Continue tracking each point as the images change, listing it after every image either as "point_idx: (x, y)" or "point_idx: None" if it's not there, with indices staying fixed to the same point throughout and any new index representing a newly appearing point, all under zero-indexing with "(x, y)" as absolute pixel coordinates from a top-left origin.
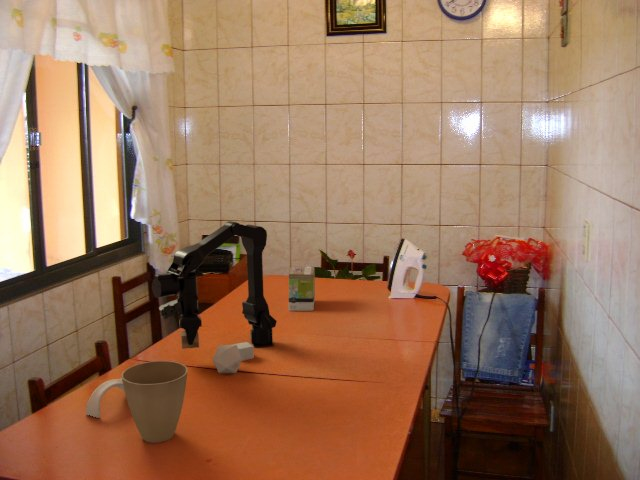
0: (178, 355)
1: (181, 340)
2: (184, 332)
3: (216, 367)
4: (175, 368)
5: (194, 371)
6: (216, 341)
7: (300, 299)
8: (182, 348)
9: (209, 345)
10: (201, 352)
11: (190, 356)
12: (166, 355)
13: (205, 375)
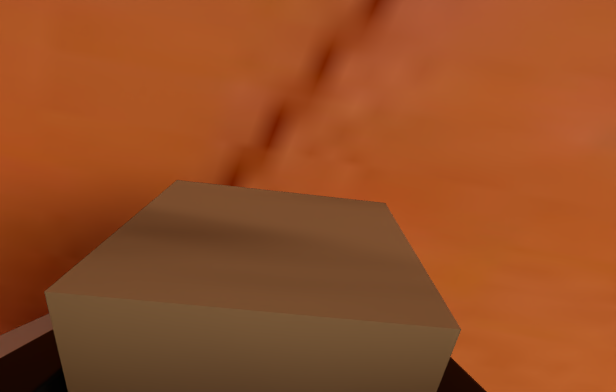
0: (496, 147)
1: (245, 228)
2: (315, 378)
3: (21, 326)
4: None
5: (119, 191)
6: (594, 386)
7: None
8: (176, 185)
9: (556, 347)
10: (462, 290)
11: (426, 219)
12: (557, 54)
13: (33, 238)
